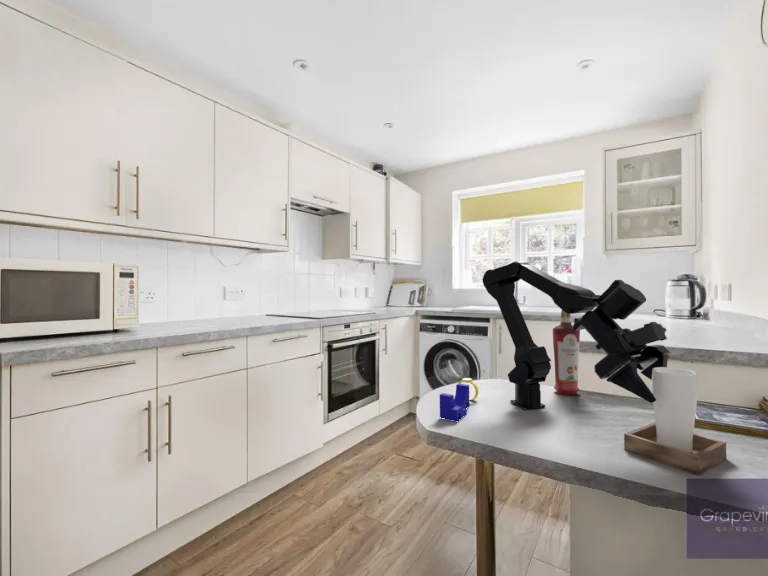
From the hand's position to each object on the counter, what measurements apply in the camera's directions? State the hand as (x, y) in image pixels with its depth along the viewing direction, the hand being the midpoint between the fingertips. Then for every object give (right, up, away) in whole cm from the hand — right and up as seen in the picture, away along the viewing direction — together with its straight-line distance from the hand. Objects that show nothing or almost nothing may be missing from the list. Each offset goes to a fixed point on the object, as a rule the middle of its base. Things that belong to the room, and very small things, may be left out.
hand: (666, 397), depth 70 cm
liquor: (0, -10, +39) cm, 40 cm away
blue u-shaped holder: (-35, -11, +22) cm, 43 cm away
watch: (-31, -11, +33) cm, 46 cm away
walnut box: (+1, -10, -1) cm, 10 cm away
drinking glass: (+1, -10, -1) cm, 10 cm away
